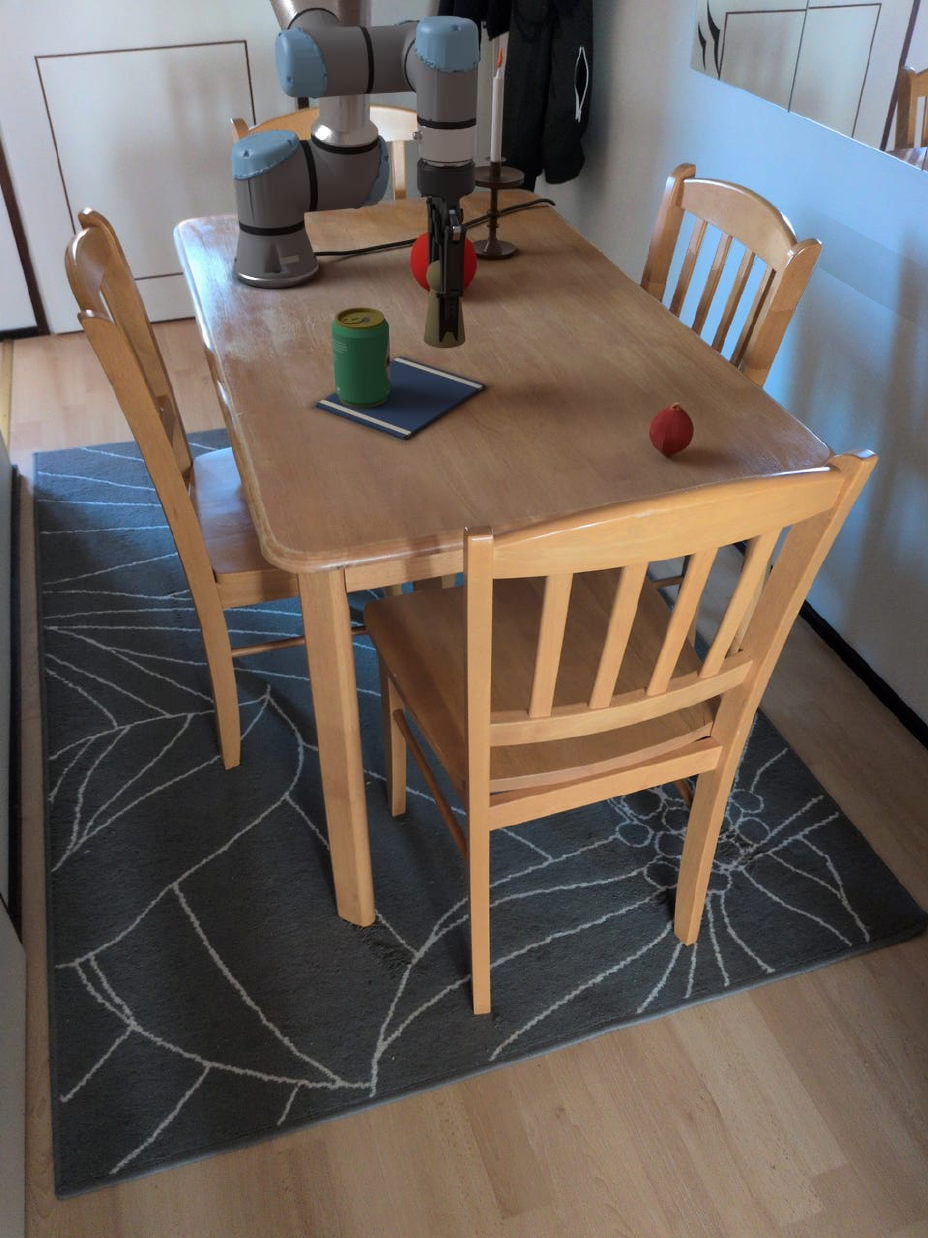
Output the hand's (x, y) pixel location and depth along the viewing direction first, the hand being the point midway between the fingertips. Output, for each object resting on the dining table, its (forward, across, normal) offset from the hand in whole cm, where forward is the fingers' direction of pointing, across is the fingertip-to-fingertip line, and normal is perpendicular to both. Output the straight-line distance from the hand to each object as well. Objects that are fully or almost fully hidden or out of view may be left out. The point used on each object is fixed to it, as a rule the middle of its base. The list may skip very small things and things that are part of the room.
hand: (444, 333), depth 142 cm
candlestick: (+9, -56, +22) cm, 61 cm away
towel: (+9, 0, -6) cm, 11 cm away
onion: (+9, +24, +26) cm, 36 cm away
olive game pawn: (+1, 0, 0) cm, 1 cm away
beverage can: (+9, 0, -12) cm, 15 cm away
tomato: (+9, -39, +8) cm, 41 cm away
